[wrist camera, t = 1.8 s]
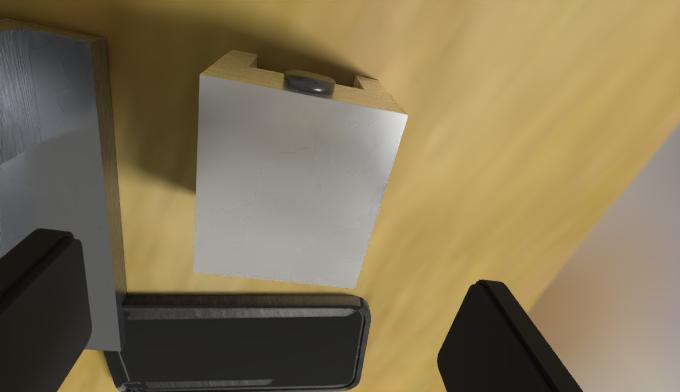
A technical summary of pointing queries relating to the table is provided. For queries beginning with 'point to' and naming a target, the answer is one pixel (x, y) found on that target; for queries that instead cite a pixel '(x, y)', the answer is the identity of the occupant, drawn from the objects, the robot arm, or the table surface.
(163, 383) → the phone
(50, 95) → the coupler
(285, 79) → the block
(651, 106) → the table surface
